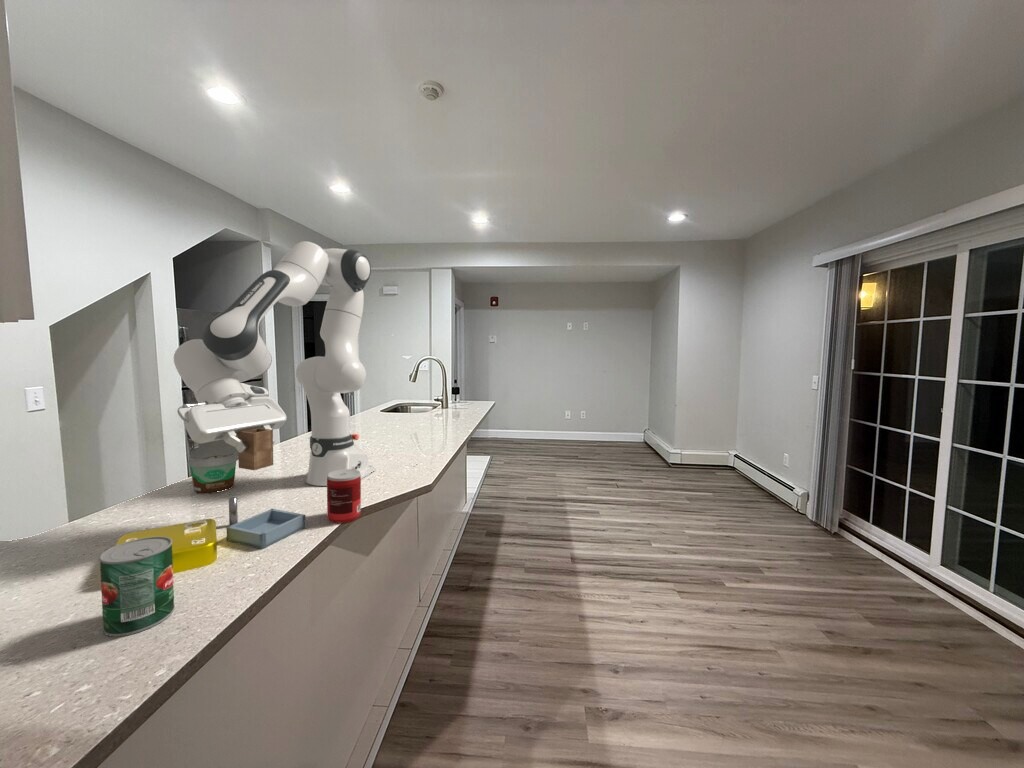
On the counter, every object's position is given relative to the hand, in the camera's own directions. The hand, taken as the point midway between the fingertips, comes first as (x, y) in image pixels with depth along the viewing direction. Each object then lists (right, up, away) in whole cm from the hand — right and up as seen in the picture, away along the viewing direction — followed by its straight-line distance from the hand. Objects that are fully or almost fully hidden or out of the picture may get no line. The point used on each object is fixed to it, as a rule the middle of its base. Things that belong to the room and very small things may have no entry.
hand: (258, 447), depth 87 cm
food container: (-29, -17, +27) cm, 43 cm away
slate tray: (+2, -19, +1) cm, 20 cm away
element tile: (-11, -21, -10) cm, 25 cm away
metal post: (-9, -19, +5) cm, 21 cm away
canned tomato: (0, -22, -27) cm, 35 cm away
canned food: (+14, -19, +11) cm, 26 cm away
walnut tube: (-1, -4, +1) cm, 4 cm away
